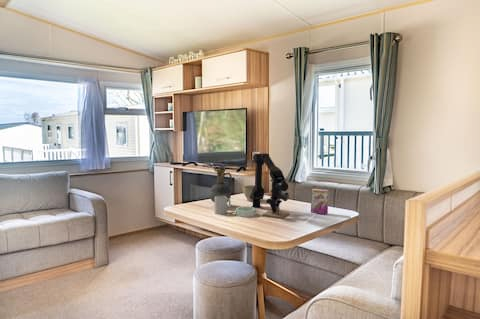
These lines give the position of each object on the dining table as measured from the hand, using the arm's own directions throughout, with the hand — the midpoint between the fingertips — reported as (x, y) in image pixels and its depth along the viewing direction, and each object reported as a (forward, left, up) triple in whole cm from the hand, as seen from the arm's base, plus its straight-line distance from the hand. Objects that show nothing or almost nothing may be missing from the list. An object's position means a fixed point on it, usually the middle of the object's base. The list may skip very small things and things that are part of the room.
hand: (275, 212), depth 228 cm
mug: (+9, -35, -3) cm, 36 cm away
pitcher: (-9, -46, -3) cm, 47 cm away
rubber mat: (0, 0, -2) cm, 2 cm away
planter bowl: (-38, -34, -3) cm, 51 cm away
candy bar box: (-21, +24, -3) cm, 32 cm away
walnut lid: (0, 0, -2) cm, 2 cm away
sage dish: (+8, -18, -3) cm, 20 cm away
